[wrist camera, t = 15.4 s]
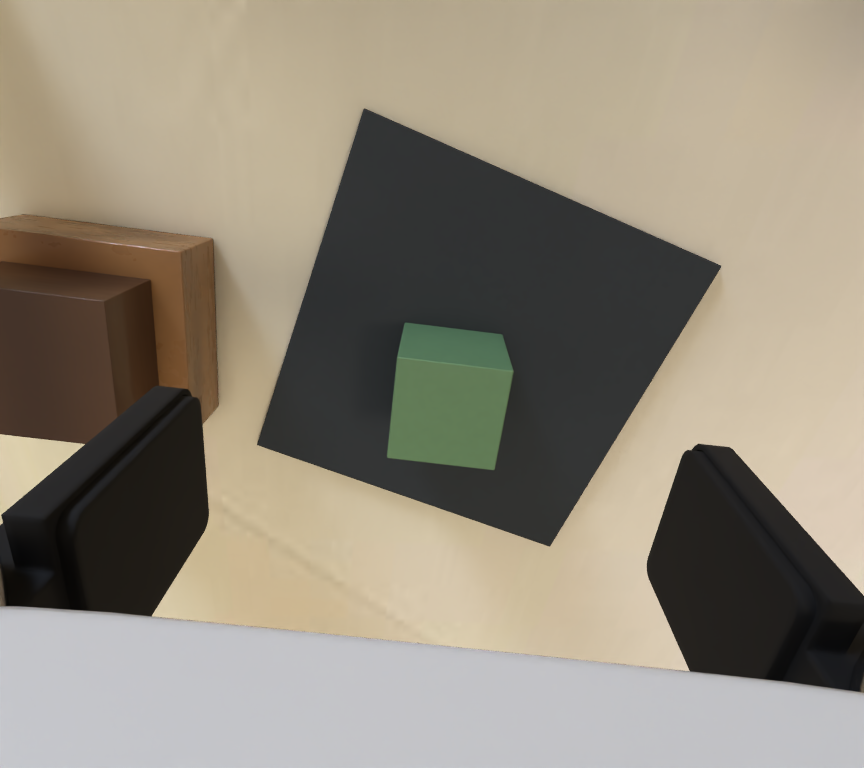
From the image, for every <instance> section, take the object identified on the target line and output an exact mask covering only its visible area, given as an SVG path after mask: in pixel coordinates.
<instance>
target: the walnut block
mask: <svg viewBox="0 0 864 768" xmlns="http://www.w3.org/2000/svg"><path fill="white" fill-rule="evenodd" d="M155 386H159V379H158V366H157V354H156V341H155V328H154V316H153V303H152V290H151V280H150V279H142V278H134V277H126V276H118V275H110V274H102V273H94V272H86V271H78V270H70V269H62V268H54V267H46V266H38V265H29V264H21V263H13V262H5V261H1V262H0V434H4V435H12V436H21V437H30V438H38V439H47V440H56V441H65V442H73V443H82V444H86V443H88V442H89V441H90V440H91V439H92V438H94V437H95V436H96V435H97V434H98V433H99V432H101V431H102V430H103V429H104V428H105V427H107V426H108V425H109V424H110V423H111V422H113V421H114V420H115V419H116V418H117V417H119V416H120V415H121V414H122V413H123V412H124V411H126V410H127V409H128V408H129V407H130V406H132V405H133V404H134V403H135V402H136V401H138V400H139V399H140V398H141V397H142V396H144V395H145V394H146V393H147V392H148V391H149V390H151V389H152V388H153V387H155Z"/></svg>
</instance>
